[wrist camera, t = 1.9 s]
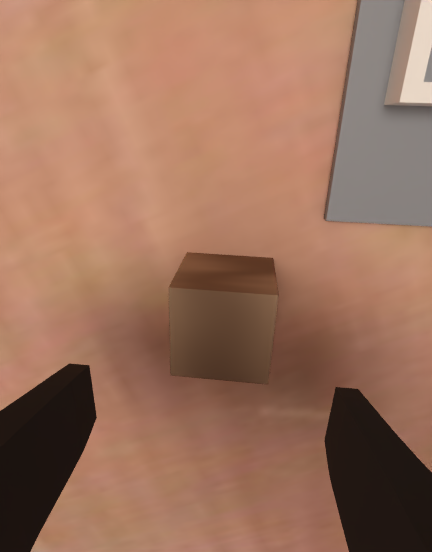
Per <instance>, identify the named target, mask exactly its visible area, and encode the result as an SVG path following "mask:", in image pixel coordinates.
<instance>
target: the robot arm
mask: <svg viewBox="0 0 432 552" xmlns="http://www.w3.org/2000/svg"><path fill="white" fill-rule="evenodd" d="M96 418H97V417H96V410H95V403H94V396H93V389H92V381H91V374H90V367H89V365H79V364H68V365H67V366H65V367H64V368H62V369H61V370H59V371H58V372H56V373H55V374H53V375H52V376H50V377H49V378H48V379H46V380H45V381H43V382H42V383H40V384H39V385H38V386H36V387H35V388H33V389H32V390H30V391H29V392H27V393H26V394H25V395H23V396H22V397H20V398H19V399H17V400H16V401H14V402H13V403H11V404H10V405H9V406H7V407H6V408H4V409H3V410H1V411H0V552H30V551H31V549H32V547H33V545H34V543H35V541H36V539H37V537H38V535H39V533H40V531H41V529H42V527H43V526H44V524H45V522H46V520H47V518H48V516H49V514H50V513H51V511H52V509H53V507H54V505H55V503H56V501H57V500H58V498H59V496H60V494H61V492H62V490H63V489H64V487H65V485H66V483H67V481H68V479H69V477H70V476H71V474H72V472H73V470H74V468H75V466H76V464H77V462H78V460H79V459H80V457H81V455H82V453H83V451H84V448H85V446H86V443H87V441H88V439H89V436H90V433H91V431H92V428H93V426H94V423H95V420H96ZM325 447H326V454H327V462H328V468H329V475H330V480H331V484H332V488H333V492H334V496H335V500H336V503H337V507H338V511H339V515H340V519H341V523H342V526H343V530H344V534H345V538H346V542H347V545H348V549H349V552H432V472H431V471H430V470H429V469H428V468H427V467H426V466H425V465H424V464H423V463H422V462H421V461H420V460H419V459H418V458H417V457H416V455H415V454H414V453H413V452H412V451H411V450H410V449H409V448H408V447H407V446H406V444H405V443H404V442H403V441H402V440H401V439H400V438H399V437H398V435H397V434H396V433H395V432H394V431H393V430H392V429H391V427H390V426H389V425H388V424H387V423H386V422H385V420H384V419H383V418H382V417H381V416H380V414H379V413H378V412H377V411H376V410H375V409H374V407H373V406H372V405H371V404H370V403H369V401H368V400H367V399H366V398H365V397H364V396H363V394H362V393H361V392H360V391H359V390H358V389H352V388H340V387H336V389H335V393H334V398H333V403H332V407H331V412H330V417H329V422H328V426H327V431H326V436H325Z"/></svg>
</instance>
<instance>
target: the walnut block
mask: <svg viewBox="0 0 432 552" xmlns="http://www.w3.org/2000/svg"><path fill="white" fill-rule="evenodd" d="M278 296H279V295H278V288H277V282H276V275H275V268H274V262H273V258H264V257H249V256H233V255H218V254H203V253H188V252H187V254H186V256H185V258H184V259H183V261H182V263H181V265H180V267H179V269H178V271H177V273H176V275H175V276H174V278H173V280H172V282H171V284H170V286H169V327H170V373H171V375H172V376H183V377H193V378H204V379H215V380H226V381H236V382H247V383H258V384H268V382H269V374H270V365H271V356H272V348H273V339H274V331H275V322H276V313H277V305H278Z"/></svg>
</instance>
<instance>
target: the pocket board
mask: <svg viewBox="0 0 432 552" xmlns="http://www.w3.org/2000/svg"><path fill="white" fill-rule="evenodd" d="M324 219H325V220H326V221H340V222H359V223H378V224H396V225H415V226H432V0H358V2H357V9H356V15H355V22H354V28H353V34H352V41H351V47H350V54H349V60H348V67H347V73H346V79H345V86H344V92H343V99H342V105H341V112H340V118H339V124H338V131H337V137H336V144H335V150H334V157H333V163H332V169H331V176H330V182H329V189H328V195H327V202H326V208H325V214H324Z"/></svg>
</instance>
